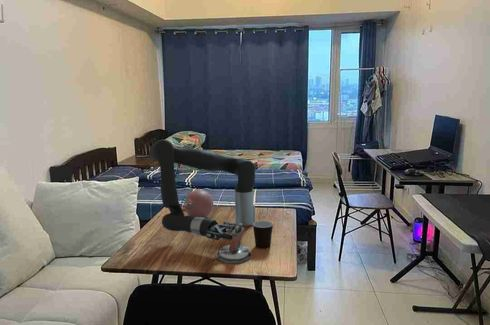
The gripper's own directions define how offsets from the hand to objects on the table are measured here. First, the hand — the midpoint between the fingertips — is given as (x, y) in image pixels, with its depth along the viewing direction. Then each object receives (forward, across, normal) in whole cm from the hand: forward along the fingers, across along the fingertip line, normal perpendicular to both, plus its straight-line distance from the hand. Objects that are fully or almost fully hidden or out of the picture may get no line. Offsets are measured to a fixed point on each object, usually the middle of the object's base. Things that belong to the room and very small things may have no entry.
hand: (237, 233), depth 151 cm
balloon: (-44, +31, +11) cm, 55 cm away
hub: (-2, 0, +10) cm, 10 cm away
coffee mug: (+4, +16, +10) cm, 20 cm away
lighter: (-1, 0, +6) cm, 6 cm away
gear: (-58, +46, +11) cm, 75 cm away
